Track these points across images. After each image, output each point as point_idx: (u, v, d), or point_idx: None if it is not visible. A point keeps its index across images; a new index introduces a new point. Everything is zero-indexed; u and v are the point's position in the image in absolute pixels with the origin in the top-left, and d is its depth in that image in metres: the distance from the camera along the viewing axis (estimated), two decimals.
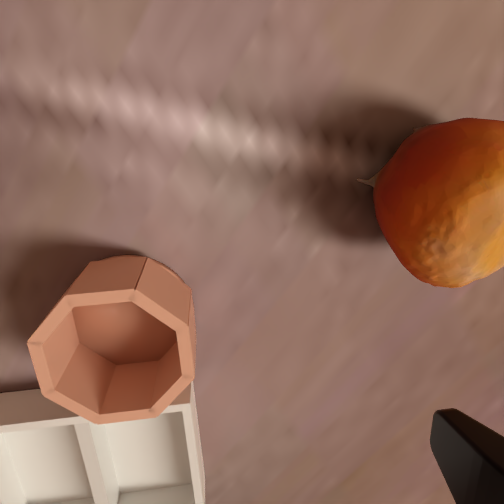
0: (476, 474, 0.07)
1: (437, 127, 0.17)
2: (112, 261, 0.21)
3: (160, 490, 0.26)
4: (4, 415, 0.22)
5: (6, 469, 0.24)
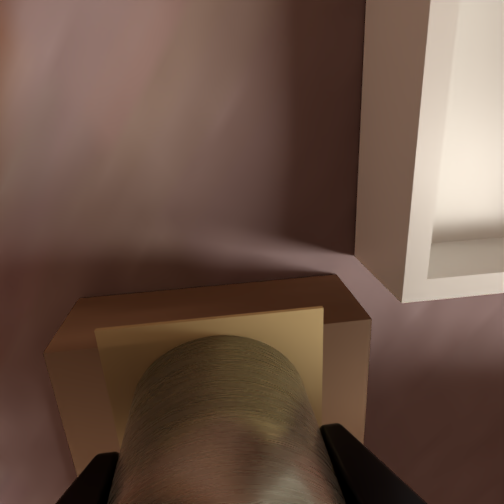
0: None
1: None
2: None
3: None
4: None
5: None
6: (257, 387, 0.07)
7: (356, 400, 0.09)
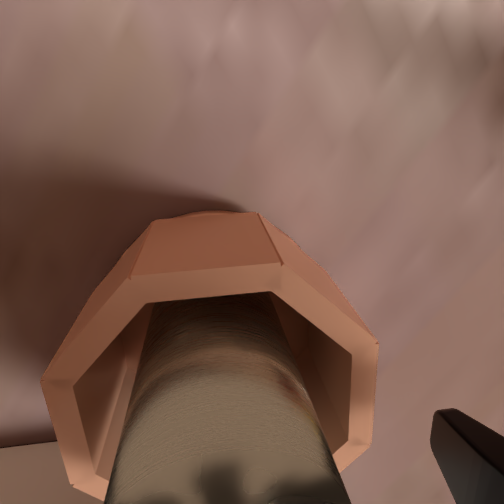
0: (476, 474, 0.07)
1: None
2: (195, 219, 0.11)
3: None
4: None
5: None
6: None
7: None
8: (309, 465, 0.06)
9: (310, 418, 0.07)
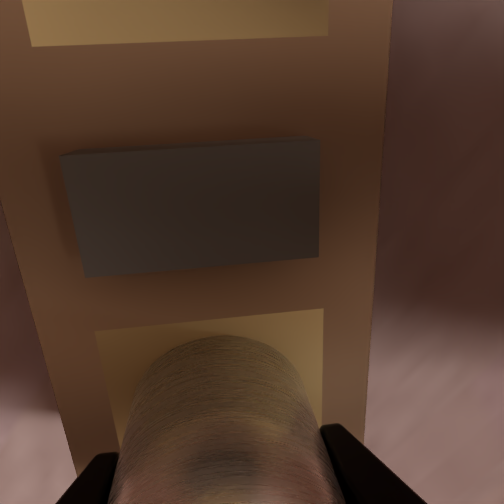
0: None
1: None
2: None
3: None
4: None
5: None
6: None
7: None
8: None
9: None
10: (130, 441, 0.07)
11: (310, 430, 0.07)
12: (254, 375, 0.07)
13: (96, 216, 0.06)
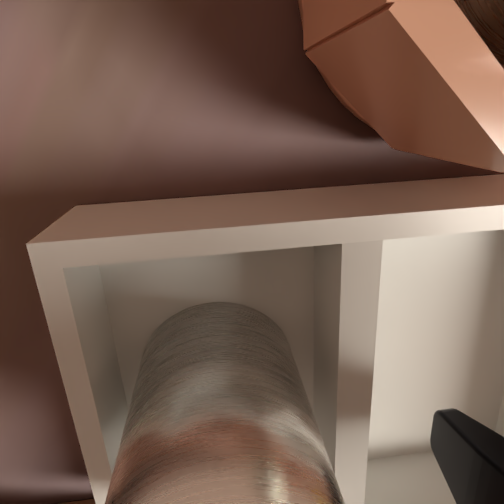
0: (476, 474, 0.07)
1: None
2: None
3: (423, 456, 0.12)
4: (136, 223, 0.08)
5: (115, 395, 0.10)
6: None
7: None
8: None
9: None
10: (141, 383, 0.08)
11: (291, 374, 0.08)
12: (246, 331, 0.09)
13: None
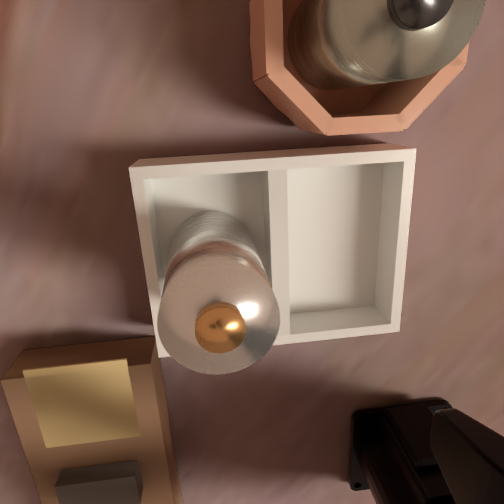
0: (476, 474, 0.07)
1: None
2: None
3: (332, 311, 0.21)
4: (174, 162, 0.16)
5: (159, 257, 0.18)
6: None
7: (151, 400, 0.20)
8: None
9: None
10: (176, 240, 0.17)
11: (247, 236, 0.17)
12: (226, 219, 0.17)
13: (65, 499, 0.20)
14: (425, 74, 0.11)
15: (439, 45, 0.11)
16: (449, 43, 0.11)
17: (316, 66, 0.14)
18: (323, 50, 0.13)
